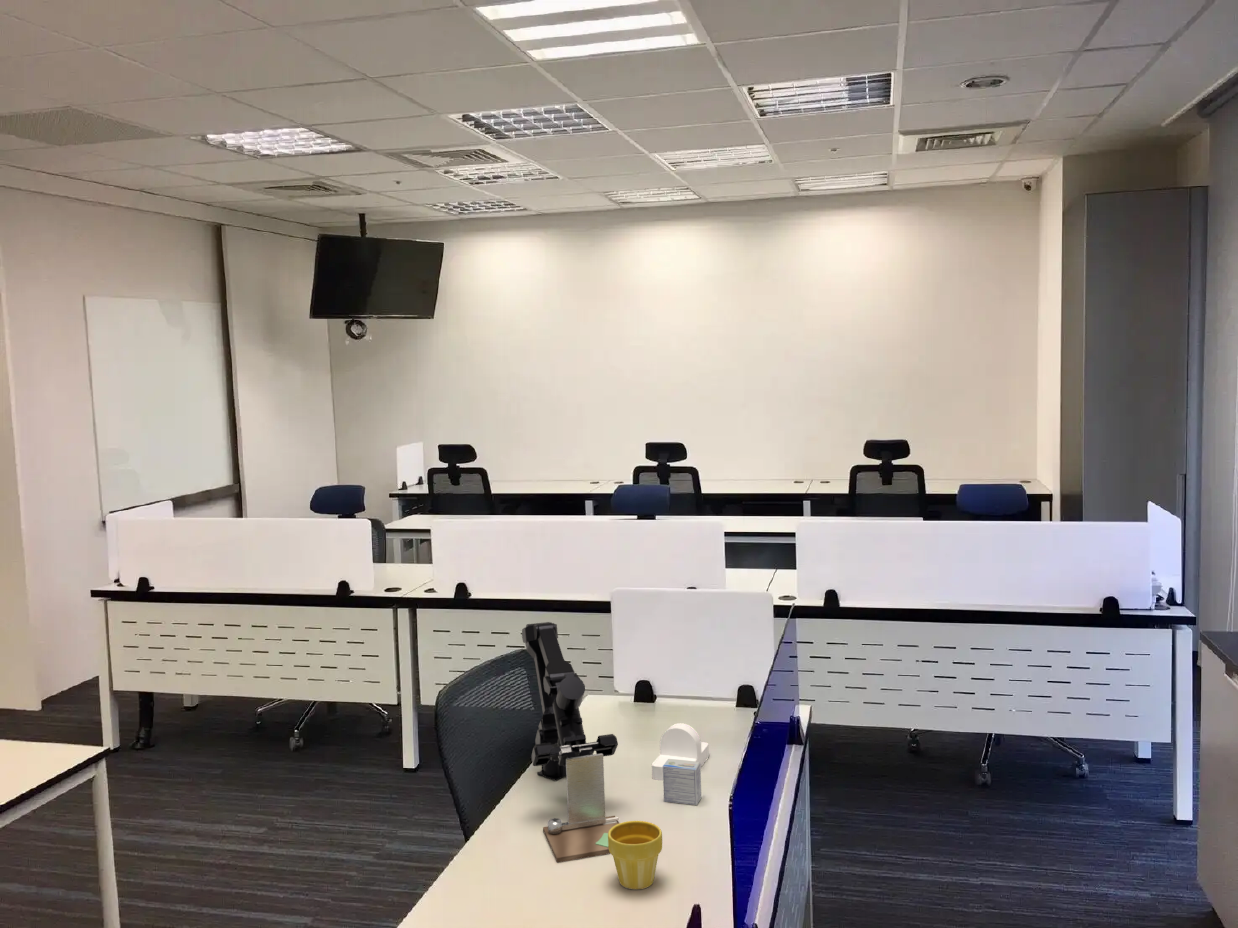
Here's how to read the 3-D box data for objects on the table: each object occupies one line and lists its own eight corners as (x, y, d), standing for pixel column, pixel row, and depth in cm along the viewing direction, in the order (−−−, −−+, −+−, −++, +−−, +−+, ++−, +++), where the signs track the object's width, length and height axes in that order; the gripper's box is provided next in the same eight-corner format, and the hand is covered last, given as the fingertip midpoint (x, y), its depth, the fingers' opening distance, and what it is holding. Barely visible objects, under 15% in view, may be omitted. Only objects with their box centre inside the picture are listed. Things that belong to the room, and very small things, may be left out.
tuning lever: (549, 834, 201) (546, 764, 199) (546, 828, 203) (543, 759, 202) (620, 823, 205) (618, 754, 204) (616, 817, 208) (614, 749, 206)
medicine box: (701, 797, 219) (701, 761, 218) (697, 806, 215) (696, 769, 214) (668, 794, 222) (667, 757, 221) (663, 802, 217) (662, 765, 217)
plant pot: (626, 862, 191) (625, 815, 190) (672, 874, 186) (671, 826, 185) (599, 886, 182) (597, 837, 181) (647, 900, 177) (645, 849, 176)
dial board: (557, 862, 191) (557, 856, 191) (543, 831, 205) (542, 826, 205) (633, 849, 196) (633, 843, 196) (614, 819, 209) (614, 814, 209)
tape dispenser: (650, 780, 230) (649, 736, 229) (674, 752, 247) (673, 711, 246) (688, 785, 227) (687, 741, 226) (709, 756, 243) (708, 715, 242)
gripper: (602, 731, 225) (617, 795, 215) (524, 741, 220) (535, 807, 210) (610, 709, 217) (625, 774, 207) (529, 719, 212) (541, 787, 202)
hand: (582, 786), depth 207 cm, fingers closed
